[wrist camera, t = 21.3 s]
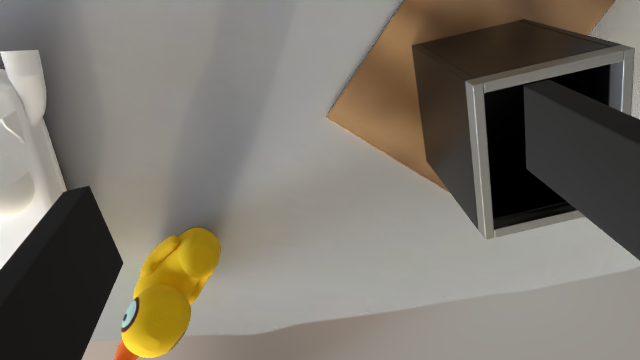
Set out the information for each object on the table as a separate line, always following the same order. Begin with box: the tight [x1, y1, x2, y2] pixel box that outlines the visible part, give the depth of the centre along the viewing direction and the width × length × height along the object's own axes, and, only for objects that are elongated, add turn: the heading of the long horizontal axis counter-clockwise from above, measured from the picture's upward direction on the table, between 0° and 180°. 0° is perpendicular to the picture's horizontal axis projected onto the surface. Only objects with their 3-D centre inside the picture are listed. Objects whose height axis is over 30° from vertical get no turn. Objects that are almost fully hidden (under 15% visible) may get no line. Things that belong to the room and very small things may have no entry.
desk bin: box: [412, 19, 635, 239], centre depth 35 cm, size 13×9×10 cm
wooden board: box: [326, 0, 615, 192], centre depth 40 cm, size 20×14×1 cm
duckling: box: [114, 228, 221, 360], centre depth 41 cm, size 11×5×10 cm, turn 139°
